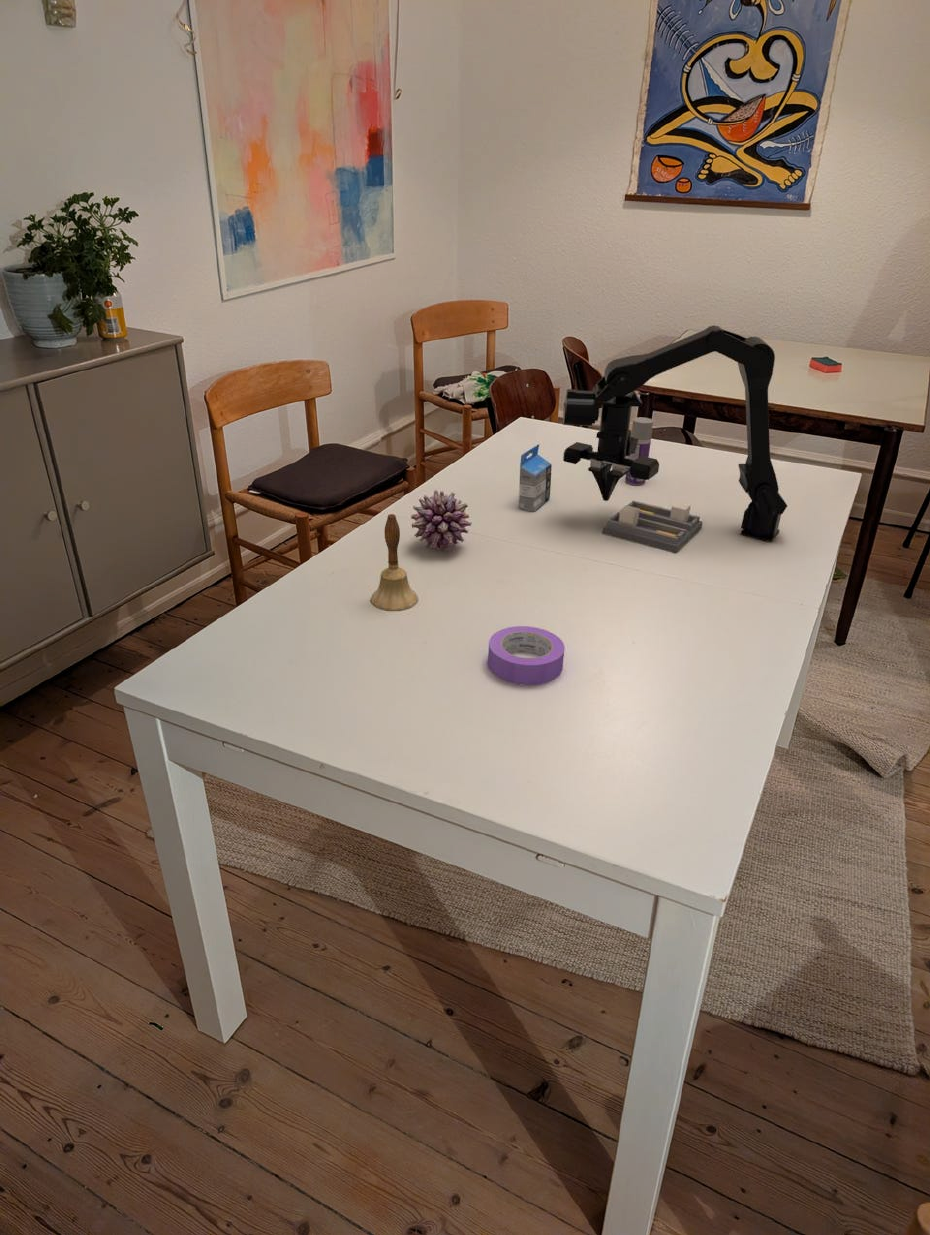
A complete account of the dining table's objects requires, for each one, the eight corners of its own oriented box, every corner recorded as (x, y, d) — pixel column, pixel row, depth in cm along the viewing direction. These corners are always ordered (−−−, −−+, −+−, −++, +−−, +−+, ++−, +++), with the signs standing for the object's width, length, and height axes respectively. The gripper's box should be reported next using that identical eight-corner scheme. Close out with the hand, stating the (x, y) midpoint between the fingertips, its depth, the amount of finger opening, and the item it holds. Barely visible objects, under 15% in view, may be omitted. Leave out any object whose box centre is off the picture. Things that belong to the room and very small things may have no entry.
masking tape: (517, 637, 143) (518, 617, 142) (577, 663, 137) (579, 642, 135) (472, 666, 135) (473, 645, 134) (533, 695, 129) (535, 673, 127)
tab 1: (637, 524, 180) (639, 508, 179) (631, 529, 178) (633, 513, 176) (624, 520, 182) (626, 505, 180) (618, 525, 179) (620, 509, 178)
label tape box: (533, 512, 188) (537, 458, 182) (516, 508, 190) (520, 454, 184) (550, 499, 195) (554, 446, 189) (533, 496, 197) (537, 443, 191)
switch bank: (701, 528, 184) (703, 516, 182) (676, 553, 173) (678, 540, 171) (630, 510, 191) (632, 498, 190) (602, 533, 180) (603, 521, 179)
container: (644, 479, 208) (652, 417, 200) (645, 486, 204) (654, 423, 196) (624, 478, 208) (632, 416, 201) (625, 485, 204) (633, 422, 197)
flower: (464, 564, 166) (466, 506, 160) (403, 557, 168) (403, 499, 162) (476, 539, 176) (478, 484, 170) (418, 533, 177) (418, 477, 171)
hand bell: (375, 613, 149) (373, 527, 141) (366, 591, 155) (364, 507, 148) (422, 608, 151) (423, 523, 143) (412, 586, 158) (412, 504, 150)
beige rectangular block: (688, 520, 183) (690, 505, 181) (683, 525, 180) (685, 509, 179) (674, 517, 184) (676, 502, 182) (669, 522, 182) (671, 506, 180)
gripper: (674, 425, 174) (663, 498, 182) (589, 408, 183) (582, 479, 191) (653, 439, 166) (642, 515, 174) (565, 421, 175) (559, 494, 182)
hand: (606, 500), depth 180 cm, fingers closed
